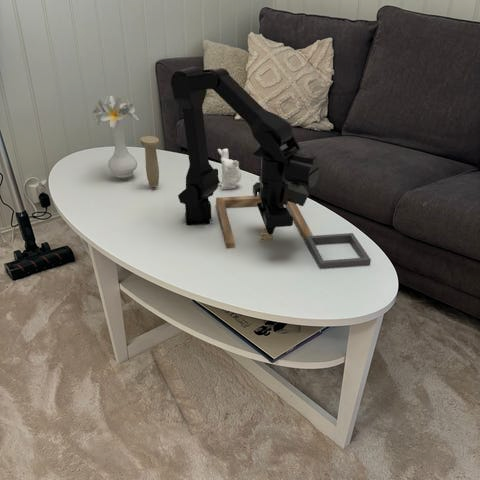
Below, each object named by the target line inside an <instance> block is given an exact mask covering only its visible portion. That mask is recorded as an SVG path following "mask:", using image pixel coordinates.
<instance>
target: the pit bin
mask: <svg viewBox="0 0 480 480" xmlns="http://www.w3.org/2000/svg"><path fill="white" fill-rule="evenodd" d="M334 244H335V245H336V244H337V245H338V244H349V245H350V246H351V247H352V249H353V250H354V252H355V253H356V254H357V256H358V257H355V258H354V257H353V258H352V257H351V258H340V259H329V260H328V259H327V260H326V259H325V260H324V258H323V256H322V255H321V253H320V251H319V249H318V247H317V246H321V245H334ZM305 245H306V246H307V249H308V250H309V252H310V254H311V255H312V257H313V259H314V261H315V262H316V264H317V266H318V268H319V269H334V268H349V267H352V268H353V267H363V266H366V267H367V266H371V261H372V260H371V258H370V256H369V254H368V253H367V251H366V250H365V249H364V247H363V246H362V244H361V243H360V242H359V239H357V237H356V236H355V235H354V233H353V232H348V233H346V232H345V233H334V234H321V235H319V234H318V235H313V236H307V237H306V243H305Z"/></svg>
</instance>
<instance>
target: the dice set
mask: <svg viewBox="0 0 480 480" xmlns="http://www.w3.org/2000/svg"><path fill="white" fill-rule="evenodd" d="M261 236H262V237H260V238H259V242H260V243H265V242H266V238H267V239H268V240H273V239H274V235H273V234H268V232H267V230H266V227H265V228H263V229H262V231H261ZM266 236H267V237H266ZM264 237H266V238H264Z"/></svg>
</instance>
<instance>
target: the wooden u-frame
mask: <svg viewBox="0 0 480 480" xmlns="http://www.w3.org/2000/svg"><path fill="white" fill-rule="evenodd" d="M257 203H260V199H259V196H258V194H257V197H254V195H241V196H237V195H236V196H222V197H221V196H220V197H215V206H216V211H217V215H218V219H219V223H220V227H221V231H222V235H223V239H224V243H225V246H226V249H235V248H236V243H235V239H234V238H235V237H234V235H233V230H232V227H231V224H230V218H229V215H228V211H227V209H232V208H248V207H258V206H257ZM284 207H285V208H287V209H288V210H289V211H290V212H291V214H292V216H293V221H294V222H293V224H294V225H295V227H296V228H298V229H297V230H298V232H299V234H300V236H301V238H302V237H303V238H302V239H303V241H304V243H305V244H306V237H307V236H314V235H313V233H312V231H311V229H310V226H309V225H308V223H307V221H306V219H305V218H304V216H303V214H302V213H301V210H300V209H299V207H298V204H295V203H292V202H289V201H288V204H285V205H284Z"/></svg>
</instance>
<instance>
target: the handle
mask: <svg viewBox="0 0 480 480" xmlns="http://www.w3.org/2000/svg"><path fill="white" fill-rule="evenodd" d="M140 144H141V146H142V147H144V154H145V172H146V179H147V182H148V183H147V185H148V186H149V187H150V188H151V187H153V188H156V187H159V184H160V166H159V161H158V156H157V155H158V153H157V147H158V146H159V145H160V140H159V138H158V137H156V136H152V135H146V136H142V137H140Z"/></svg>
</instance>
